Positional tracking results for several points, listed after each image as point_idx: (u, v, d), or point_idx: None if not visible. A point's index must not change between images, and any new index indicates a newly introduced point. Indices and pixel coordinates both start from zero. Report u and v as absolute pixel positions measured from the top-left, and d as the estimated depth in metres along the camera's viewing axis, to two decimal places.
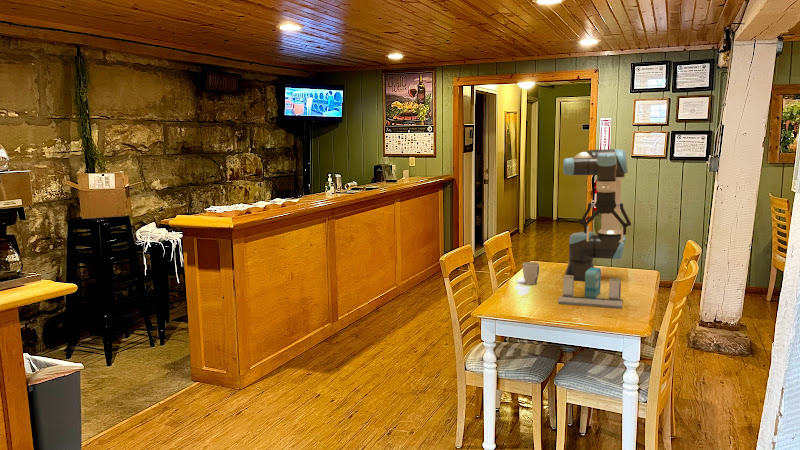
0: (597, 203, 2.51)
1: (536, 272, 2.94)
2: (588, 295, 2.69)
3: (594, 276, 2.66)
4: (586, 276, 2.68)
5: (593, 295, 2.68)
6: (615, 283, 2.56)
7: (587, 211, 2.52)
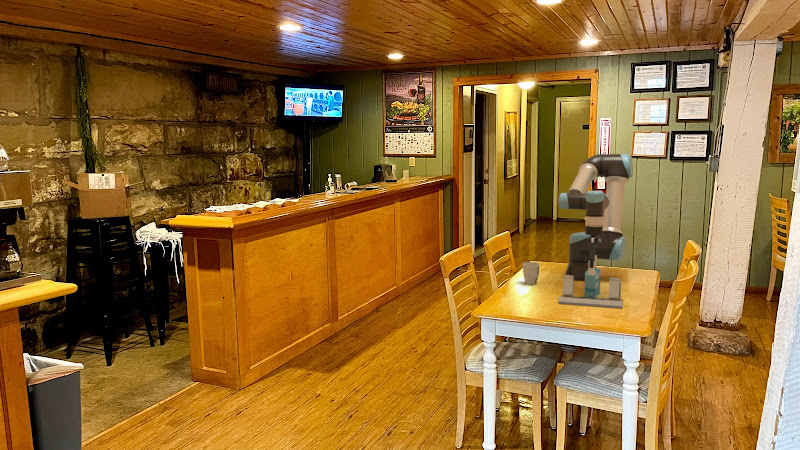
0: None
1: (536, 272, 2.94)
2: (588, 296, 2.69)
3: (594, 277, 2.66)
4: (586, 277, 2.68)
5: (593, 296, 2.68)
6: (615, 283, 2.56)
7: None
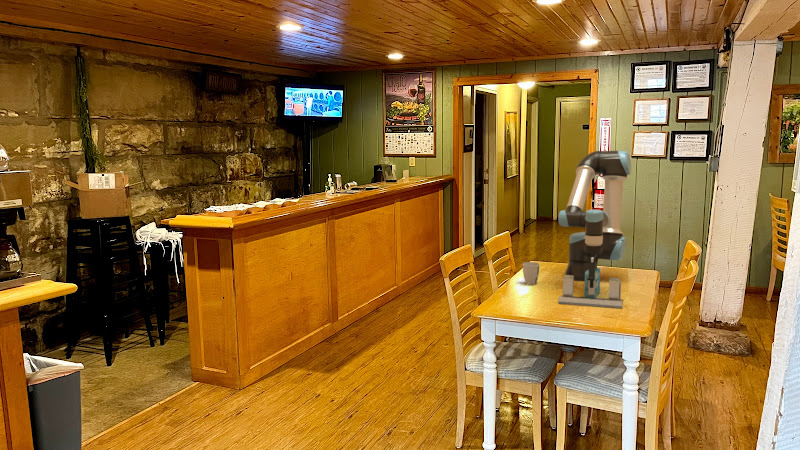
0: None
1: (536, 272, 2.94)
2: (588, 295, 2.69)
3: None
4: (586, 276, 2.68)
5: (593, 295, 2.68)
6: (615, 283, 2.56)
7: None
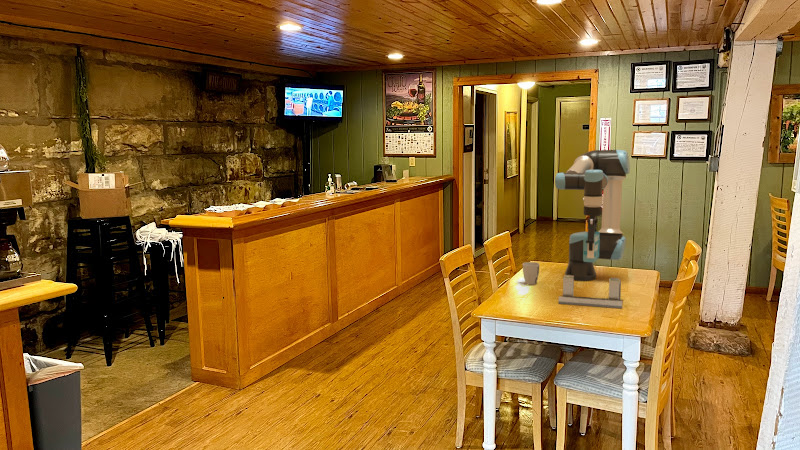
0: None
1: (536, 272, 2.94)
2: (587, 259, 2.56)
3: None
4: (585, 239, 2.55)
5: (592, 259, 2.55)
6: (615, 283, 2.56)
7: None
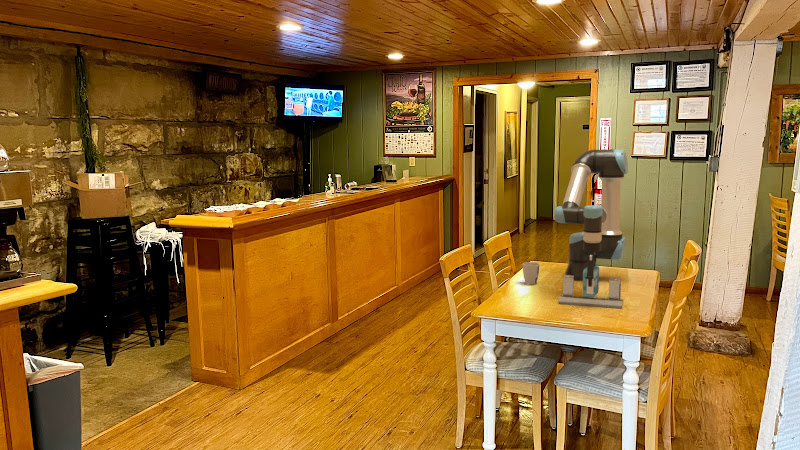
0: None
1: (536, 272, 2.94)
2: (586, 294, 2.58)
3: None
4: (584, 274, 2.57)
5: (591, 294, 2.57)
6: (615, 283, 2.56)
7: None
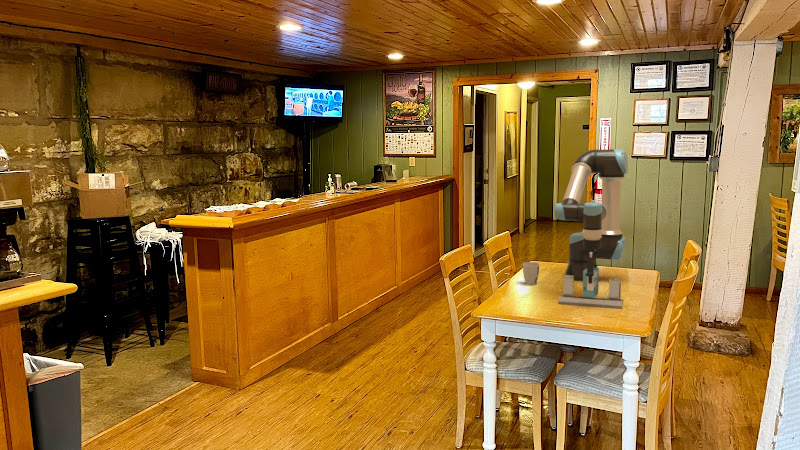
0: None
1: (536, 272, 2.94)
2: (586, 295, 2.58)
3: None
4: (584, 275, 2.58)
5: (591, 295, 2.57)
6: (615, 283, 2.56)
7: None
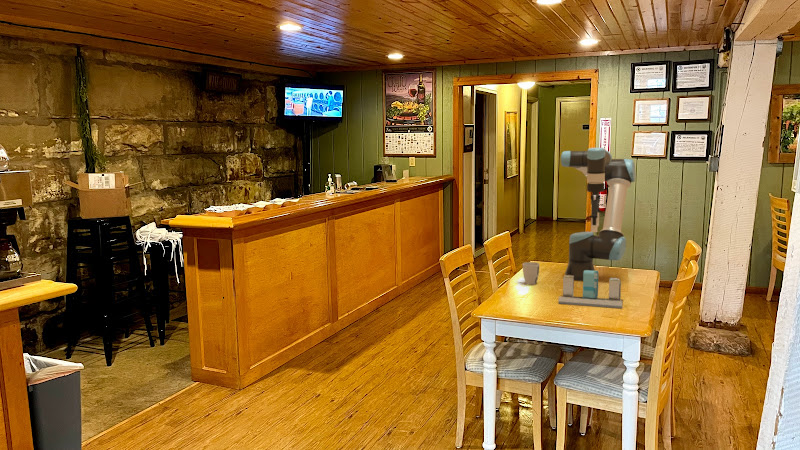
0: None
1: (536, 272, 2.94)
2: (586, 295, 2.59)
3: (593, 274, 2.58)
4: (584, 274, 2.60)
5: (591, 294, 2.58)
6: (615, 283, 2.56)
7: None
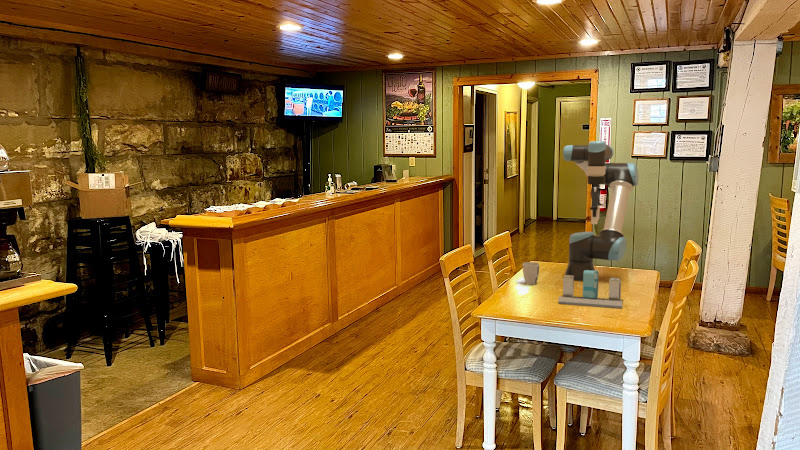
0: None
1: (536, 272, 2.94)
2: (586, 295, 2.59)
3: (593, 274, 2.58)
4: (584, 274, 2.60)
5: (591, 294, 2.58)
6: (615, 283, 2.56)
7: None
